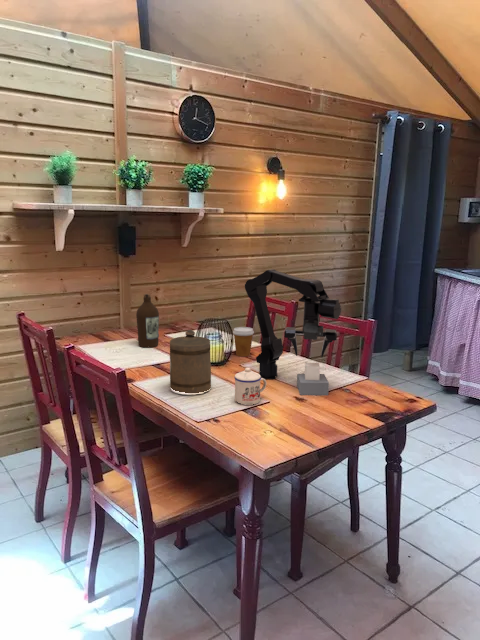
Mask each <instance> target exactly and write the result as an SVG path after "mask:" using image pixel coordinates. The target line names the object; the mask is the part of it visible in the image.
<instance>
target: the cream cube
mask: <svg viewBox="0 0 480 640" xmlns="http://www.w3.org/2000/svg"><path fill="white" fill-rule="evenodd" d="M320 368H321V366H320V363H319V362H308V361H307V362H304V374H305V380H319V375H320V374H321V373H320V372H321V371H320Z"/></svg>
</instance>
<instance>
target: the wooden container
mask: <svg viewBox="0 0 480 640" xmlns="http://www.w3.org/2000/svg"><path fill="white" fill-rule="evenodd" d="M195 334H196V333H195V331H194V330H193V329H188V330H186V331H185V335H184V336H178V337H174V338H172V339H169V383H170V384H169V385H170V387H171V388H172V389H173V390H175V391H179V392H185V393H199V392H204V391H207V390H209V389H210V388H211V389H212V365H211V364H212V363H211V340H210V339H209V338H206V337H204V336H195ZM211 389H210V390H211Z"/></svg>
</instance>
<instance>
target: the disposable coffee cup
mask: <svg viewBox="0 0 480 640" xmlns="http://www.w3.org/2000/svg"><path fill="white" fill-rule="evenodd" d="M232 333H233V339H234V345H235V346H234V347H235V356H237V357H241V358H242V357H243V358H245V357H249V356H251V350H252V344H253V343H252V342H253V335H254V333H255V331H254V328H252V327H249V326H248V327H247V326H238V327H237V326H236V327H234V328H233V331H232Z"/></svg>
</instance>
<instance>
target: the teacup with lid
mask: <svg viewBox="0 0 480 640" xmlns="http://www.w3.org/2000/svg"><path fill="white" fill-rule="evenodd" d="M262 381H263V384H262V387H261V382H262ZM266 387H267V379H264V378H261V376H260V374H259V372H255V371H253V370H252V369H251V367H245V368H244V370H242V371H240V372H237V373H235V375H234V402H236V401H237V402H238V403H241V404H240V405H242V404H247V405H246V406H253V404H254V405H256V404H258V403H260V401H261V393H262V392H264V391H265V390H266ZM237 402H236V403H237ZM238 403H237V404H238Z"/></svg>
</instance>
